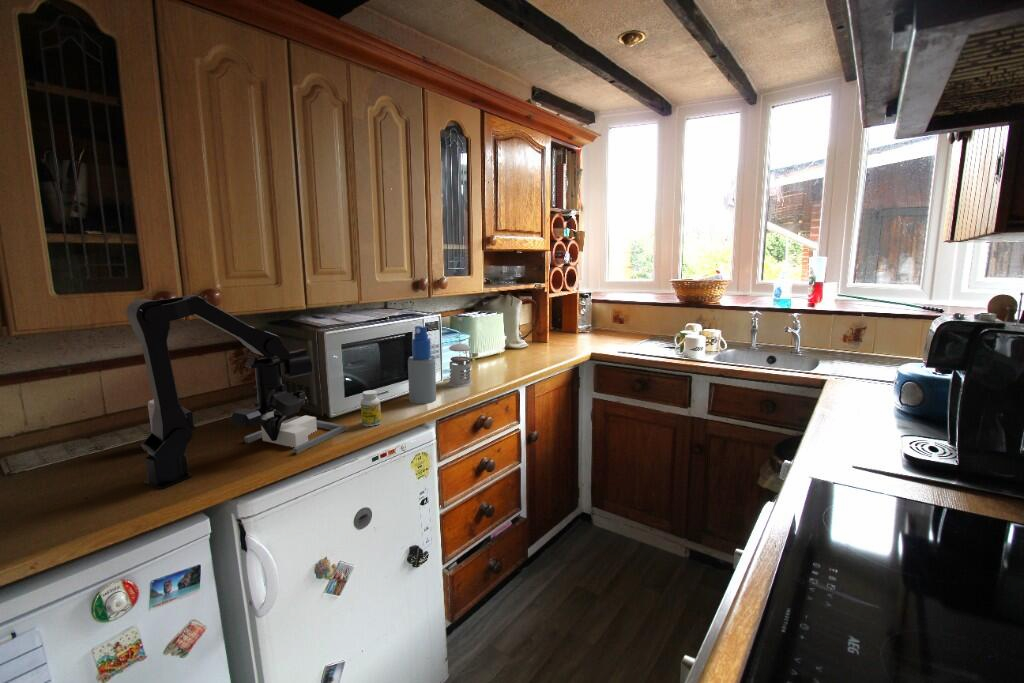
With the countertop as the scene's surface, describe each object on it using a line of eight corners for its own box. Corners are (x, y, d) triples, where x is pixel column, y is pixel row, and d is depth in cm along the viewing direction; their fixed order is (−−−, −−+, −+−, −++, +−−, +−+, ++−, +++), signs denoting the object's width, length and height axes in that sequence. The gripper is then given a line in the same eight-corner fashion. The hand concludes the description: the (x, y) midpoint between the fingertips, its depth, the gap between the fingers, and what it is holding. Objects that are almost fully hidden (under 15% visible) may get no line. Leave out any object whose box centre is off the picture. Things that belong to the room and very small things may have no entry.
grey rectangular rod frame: (297, 454, 120) (296, 448, 120) (244, 442, 127) (244, 436, 127) (346, 430, 136) (345, 425, 136) (297, 420, 143) (296, 416, 143)
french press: (442, 385, 180) (440, 318, 175) (457, 377, 191) (456, 314, 186) (465, 388, 176) (464, 320, 171) (480, 380, 187) (479, 316, 182)
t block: (296, 448, 124) (295, 433, 123) (262, 440, 129) (261, 426, 128) (328, 433, 134) (327, 419, 133) (295, 426, 139) (294, 413, 138)
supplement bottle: (382, 420, 144) (381, 389, 142) (379, 426, 139) (378, 394, 137) (363, 420, 144) (362, 389, 142) (360, 427, 138) (358, 395, 137)
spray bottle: (426, 405, 158) (424, 329, 153) (403, 401, 161) (401, 327, 156) (441, 397, 166) (439, 325, 161) (418, 394, 169) (416, 323, 164)
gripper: (259, 396, 110) (265, 460, 113) (321, 376, 127) (325, 433, 130) (226, 390, 115) (232, 452, 118) (290, 372, 131) (294, 426, 134)
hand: (274, 440), depth 125 cm, fingers closed
